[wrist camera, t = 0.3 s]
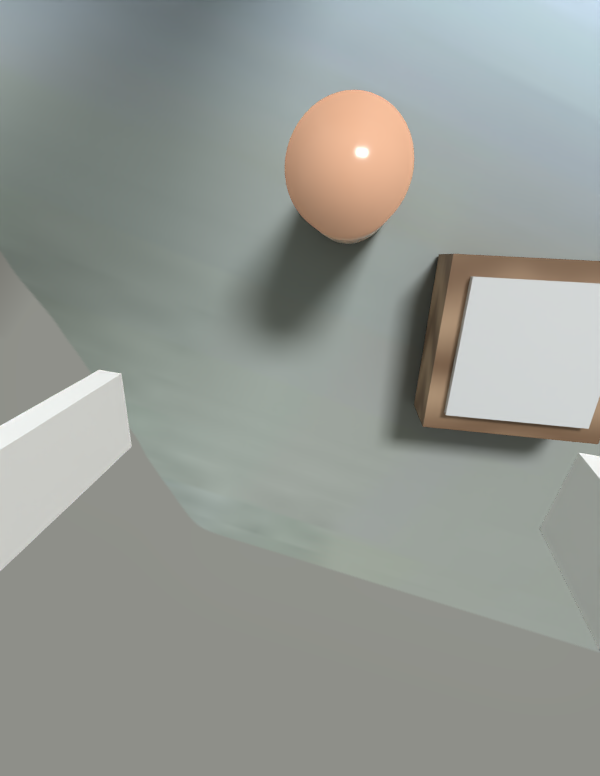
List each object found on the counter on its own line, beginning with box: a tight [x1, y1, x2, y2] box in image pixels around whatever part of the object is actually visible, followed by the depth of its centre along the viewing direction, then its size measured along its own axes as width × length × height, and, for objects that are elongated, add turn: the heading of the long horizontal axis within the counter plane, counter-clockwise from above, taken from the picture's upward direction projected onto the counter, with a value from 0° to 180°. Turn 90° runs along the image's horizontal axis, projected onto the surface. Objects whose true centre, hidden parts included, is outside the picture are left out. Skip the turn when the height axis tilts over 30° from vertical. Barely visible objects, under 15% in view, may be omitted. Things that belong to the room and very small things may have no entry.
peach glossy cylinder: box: [285, 90, 414, 244], centre depth 26 cm, size 7×7×12 cm
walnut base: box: [414, 254, 600, 444], centre depth 31 cm, size 14×14×6 cm
